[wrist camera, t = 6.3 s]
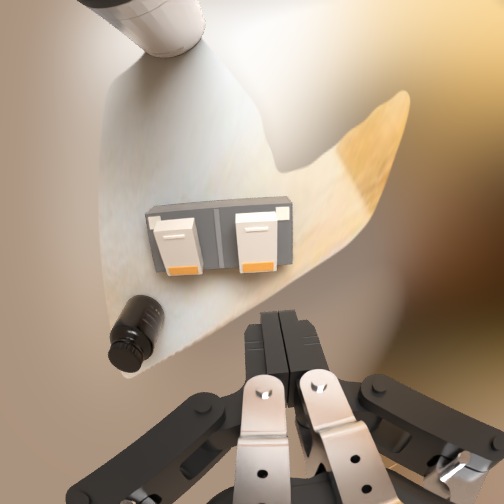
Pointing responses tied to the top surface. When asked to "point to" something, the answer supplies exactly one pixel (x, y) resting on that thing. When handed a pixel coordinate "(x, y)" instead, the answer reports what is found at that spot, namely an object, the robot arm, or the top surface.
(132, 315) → the supplement bottle
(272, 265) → the rocker
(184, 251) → the block
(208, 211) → the switch panel
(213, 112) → the top surface
